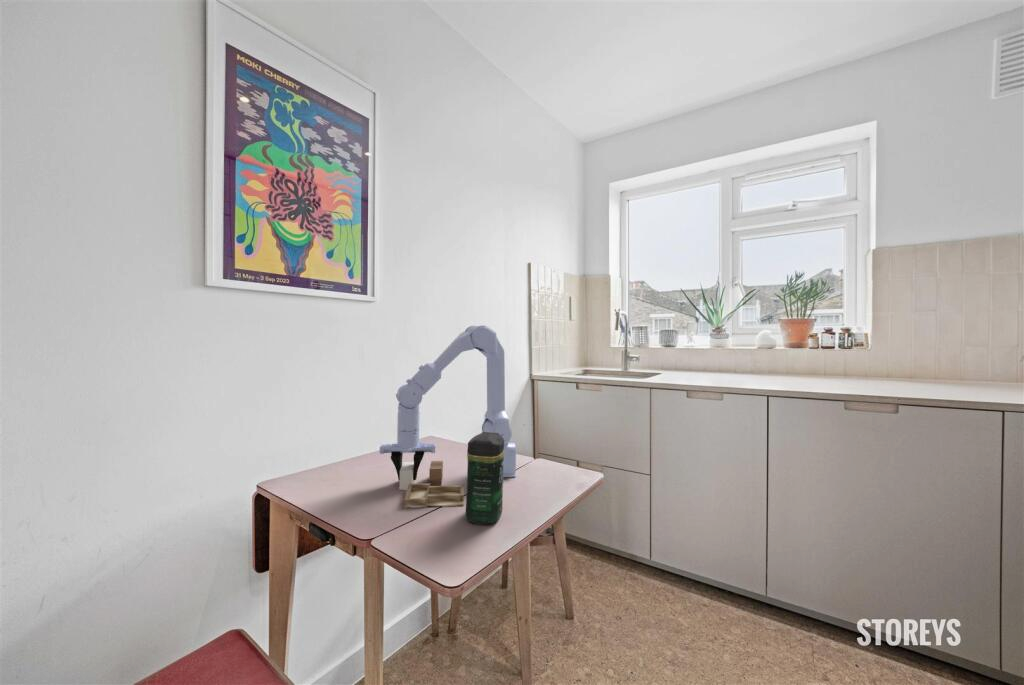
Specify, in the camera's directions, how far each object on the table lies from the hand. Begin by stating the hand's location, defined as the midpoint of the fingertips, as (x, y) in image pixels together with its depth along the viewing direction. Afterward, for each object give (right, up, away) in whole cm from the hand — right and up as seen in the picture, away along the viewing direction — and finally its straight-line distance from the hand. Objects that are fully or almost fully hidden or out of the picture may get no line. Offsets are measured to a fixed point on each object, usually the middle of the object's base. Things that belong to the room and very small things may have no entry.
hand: (407, 479), depth 107 cm
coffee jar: (+22, -3, -17) cm, 28 cm away
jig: (+9, -2, -8) cm, 12 cm away
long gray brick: (0, -2, 0) cm, 2 cm away
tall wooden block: (+7, -2, +2) cm, 8 cm away
